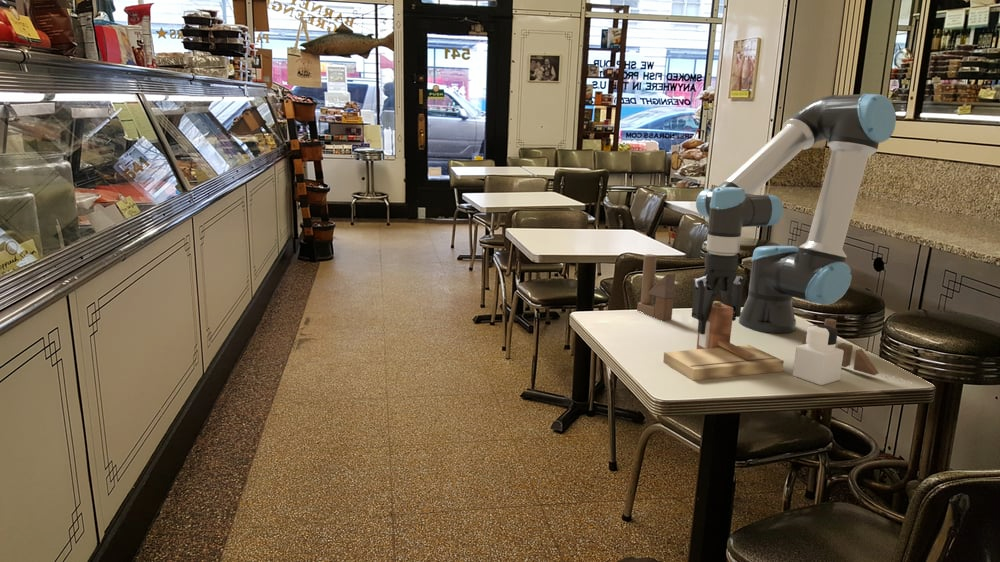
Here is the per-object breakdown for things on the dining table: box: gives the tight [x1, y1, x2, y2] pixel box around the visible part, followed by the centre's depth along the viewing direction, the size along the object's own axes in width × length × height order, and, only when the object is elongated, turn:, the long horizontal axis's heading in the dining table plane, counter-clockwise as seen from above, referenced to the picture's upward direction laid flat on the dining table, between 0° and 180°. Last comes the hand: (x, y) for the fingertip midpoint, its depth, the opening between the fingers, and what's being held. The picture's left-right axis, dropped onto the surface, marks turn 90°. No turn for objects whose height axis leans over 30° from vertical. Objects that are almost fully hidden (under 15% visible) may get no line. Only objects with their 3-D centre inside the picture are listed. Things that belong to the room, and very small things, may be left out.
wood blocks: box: [801, 318, 913, 385], centre depth 159 cm, size 25×3×10 cm, turn 38°
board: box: [662, 344, 785, 381], centre depth 158 cm, size 24×12×3 cm, turn 109°
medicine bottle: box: [792, 323, 844, 386], centre depth 152 cm, size 7×7×12 cm
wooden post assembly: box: [636, 253, 677, 322], centre depth 197 cm, size 4×11×18 cm, turn 32°
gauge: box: [696, 300, 755, 360], centre depth 162 cm, size 5×17×13 cm, turn 19°
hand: (713, 345), depth 168 cm, fingers closed on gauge, 5 cm apart
